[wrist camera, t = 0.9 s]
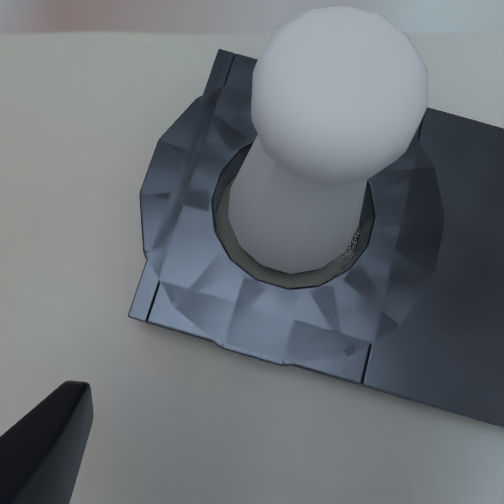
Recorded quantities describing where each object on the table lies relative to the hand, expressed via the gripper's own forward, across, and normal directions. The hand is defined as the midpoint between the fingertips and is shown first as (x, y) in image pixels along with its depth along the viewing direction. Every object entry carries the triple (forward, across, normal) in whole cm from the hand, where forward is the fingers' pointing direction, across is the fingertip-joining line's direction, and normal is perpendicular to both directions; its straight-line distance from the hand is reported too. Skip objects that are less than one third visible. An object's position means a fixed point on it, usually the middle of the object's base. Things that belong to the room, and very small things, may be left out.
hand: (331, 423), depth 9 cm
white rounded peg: (+15, 0, +4) cm, 16 cm away
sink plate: (+14, -6, +5) cm, 16 cm away
